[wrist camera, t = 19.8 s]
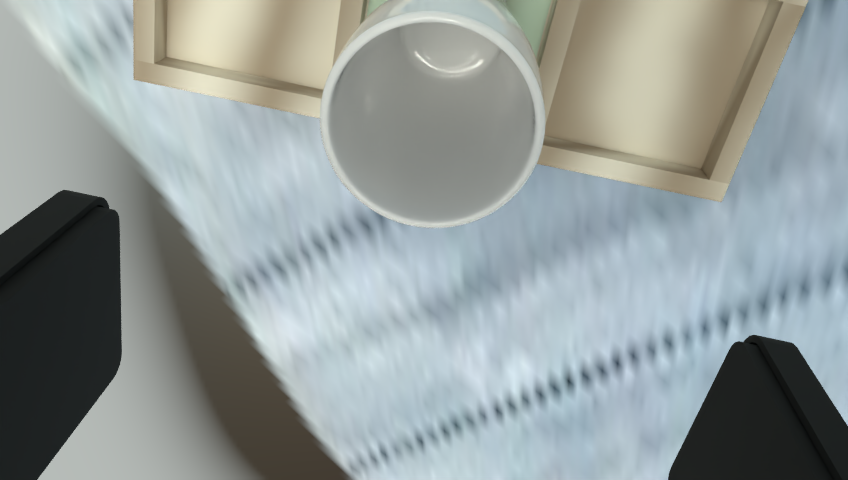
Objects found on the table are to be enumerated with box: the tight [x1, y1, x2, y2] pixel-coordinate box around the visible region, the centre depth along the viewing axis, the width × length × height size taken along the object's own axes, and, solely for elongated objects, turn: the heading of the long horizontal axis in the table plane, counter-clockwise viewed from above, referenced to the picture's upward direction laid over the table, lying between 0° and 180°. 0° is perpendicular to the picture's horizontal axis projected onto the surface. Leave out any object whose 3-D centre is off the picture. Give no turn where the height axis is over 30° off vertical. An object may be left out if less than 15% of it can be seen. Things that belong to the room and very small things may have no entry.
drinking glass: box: [320, 0, 546, 228], centre depth 27 cm, size 7×7×15 cm
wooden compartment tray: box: [133, 0, 808, 202], centre depth 34 cm, size 30×11×2 cm, turn 79°
